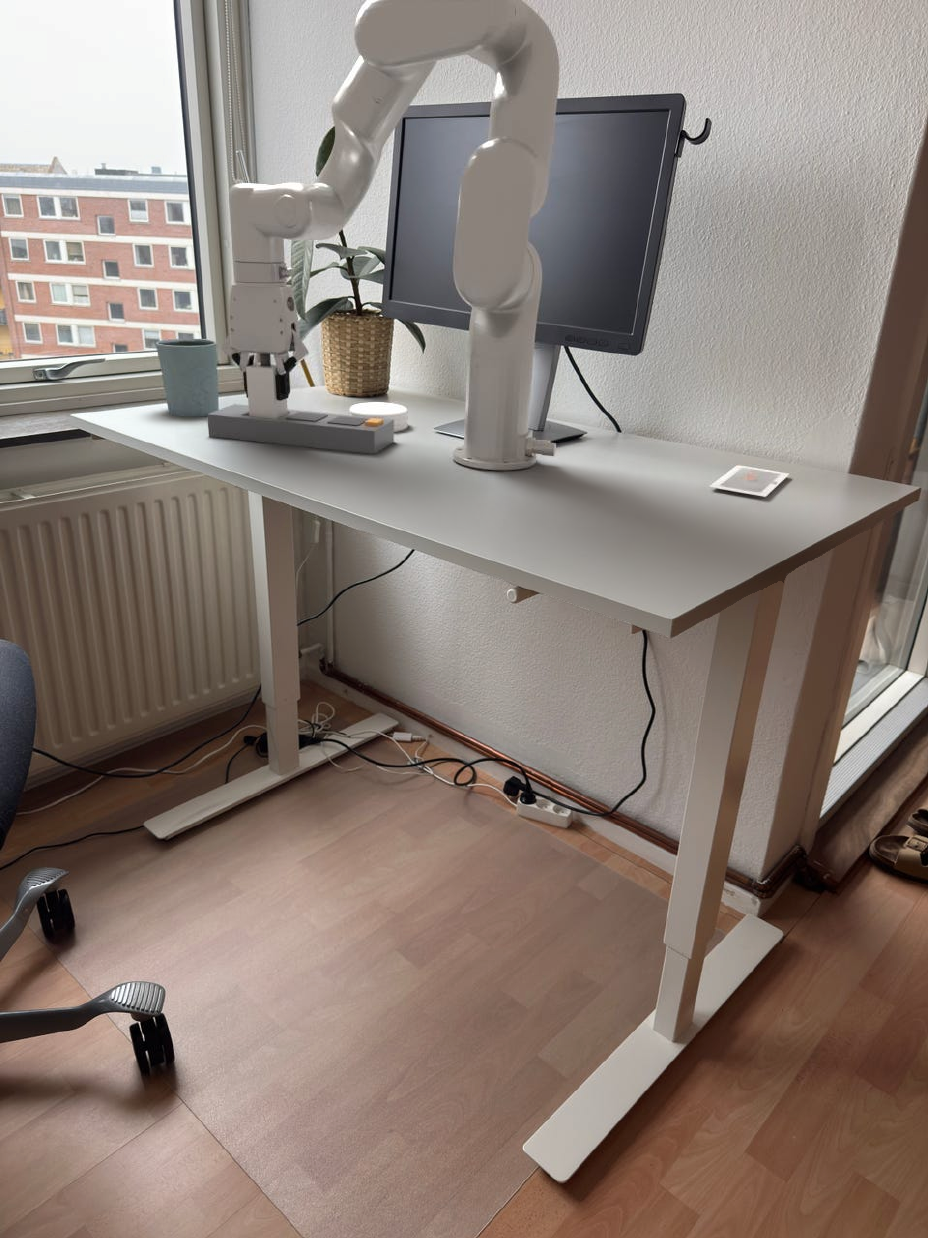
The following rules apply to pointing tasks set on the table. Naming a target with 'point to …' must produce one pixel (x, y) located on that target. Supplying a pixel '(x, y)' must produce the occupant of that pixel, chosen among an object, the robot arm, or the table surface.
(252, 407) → the charger
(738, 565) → the table surface
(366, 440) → the power strip
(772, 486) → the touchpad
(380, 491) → the table surface
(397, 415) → the coaster
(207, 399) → the blue-grey tapered cup
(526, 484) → the table surface
